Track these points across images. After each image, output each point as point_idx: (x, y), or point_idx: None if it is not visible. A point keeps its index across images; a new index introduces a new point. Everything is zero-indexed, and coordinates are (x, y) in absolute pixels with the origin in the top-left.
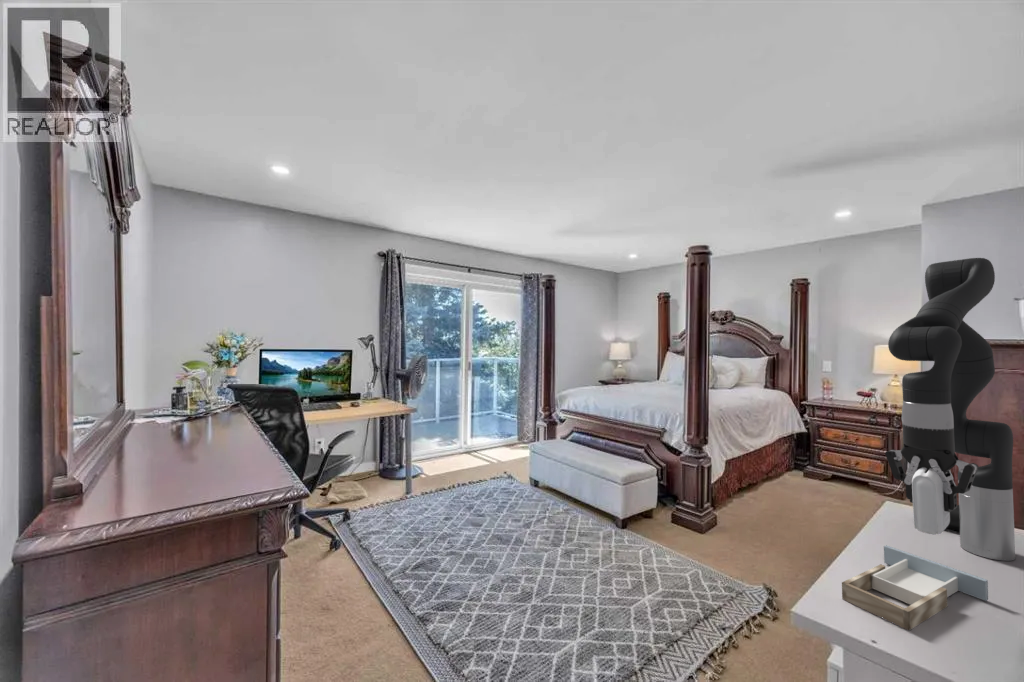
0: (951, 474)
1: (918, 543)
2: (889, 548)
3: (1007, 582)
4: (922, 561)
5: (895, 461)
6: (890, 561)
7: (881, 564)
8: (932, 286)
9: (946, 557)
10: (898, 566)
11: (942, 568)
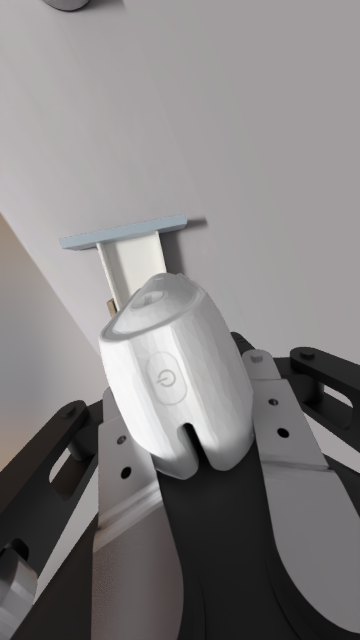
0: (292, 396)
1: (4, 77)
2: (70, 246)
3: (157, 114)
4: (116, 238)
5: (36, 571)
6: (81, 248)
7: (107, 302)
8: None
9: (68, 102)
10: (109, 273)
11: (140, 233)
